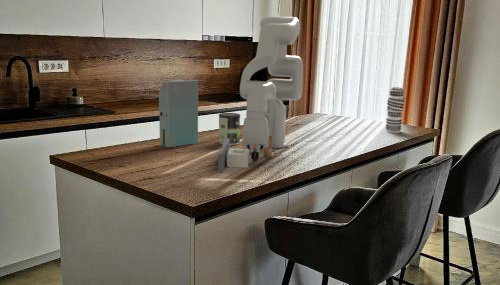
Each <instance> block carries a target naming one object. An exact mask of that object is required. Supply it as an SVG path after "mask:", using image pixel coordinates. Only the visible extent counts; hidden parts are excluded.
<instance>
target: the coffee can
mask: <svg viewBox="0 0 500 285" xmlns="http://www.w3.org/2000/svg"><path fill="white" fill-rule="evenodd" d="M240 135H241V114H240V113H236V112H221V113H218V144H219V143H220V144H219V145H222V144H224V142H225V140H226V138H230V146H236V145H239V144H240V137H241V136H240Z"/></svg>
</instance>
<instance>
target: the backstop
mask: <svg viewBox="0 0 500 285" xmlns="http://www.w3.org/2000/svg"><path fill="white" fill-rule="evenodd" d="M230 146H231V145H230V138H226V140H225V142H224V144H223V145H221V148H220V150H219V152H218V153H217V154H218V156H217V157H218V158H217V160H218V161H217V170H218V171H217V173H218V174H223V172H224V170H225V166H227V154H228V151H229V149H230V148H231V147H230Z"/></svg>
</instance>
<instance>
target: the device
mask: <svg viewBox="0 0 500 285" xmlns="http://www.w3.org/2000/svg"><path fill="white" fill-rule="evenodd" d="M158 110H159V113H158V114H159V145H160V144H161V145H163V146H162V147H164V146H166V147H165V148H167V147H174V146H180V147H182V146H181V145H187V144H193V145H196V144H195V143H198V144H199V80H197V79H196V80H194V79H192V80H184V79H169V80H168V81H164V82H163V83H162V84H161V86H160V88H159V90H158ZM161 145H160V146H161ZM187 146H188V145H187ZM174 148H175V147H174Z"/></svg>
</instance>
